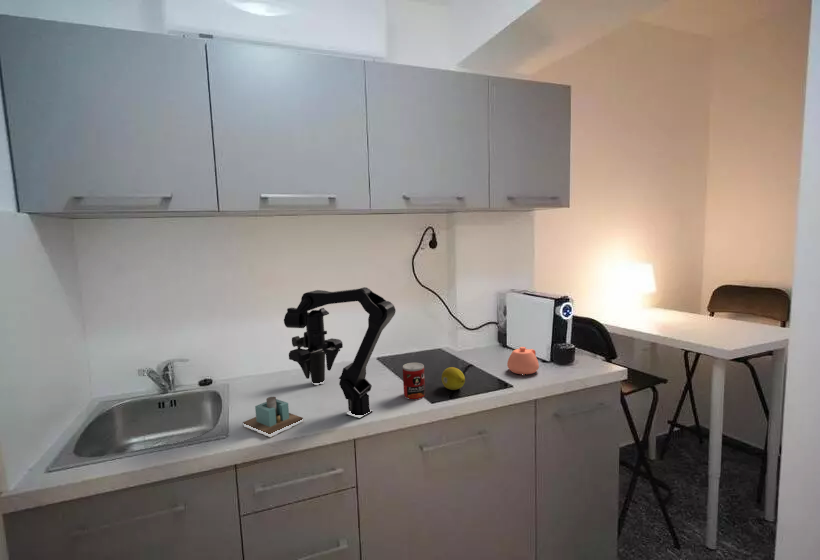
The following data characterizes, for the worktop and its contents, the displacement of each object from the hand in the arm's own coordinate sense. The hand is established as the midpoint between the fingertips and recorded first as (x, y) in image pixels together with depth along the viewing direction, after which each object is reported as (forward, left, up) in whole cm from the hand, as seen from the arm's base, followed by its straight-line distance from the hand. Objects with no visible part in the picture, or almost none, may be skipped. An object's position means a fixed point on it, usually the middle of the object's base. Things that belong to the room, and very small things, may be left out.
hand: (318, 374), depth 136 cm
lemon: (-30, -37, -12) cm, 49 cm away
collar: (+4, +16, -10) cm, 19 cm away
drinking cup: (+20, -16, -12) cm, 28 cm away
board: (+4, +16, -12) cm, 20 cm away
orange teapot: (-45, -68, -12) cm, 82 cm away
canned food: (-21, -25, -12) cm, 35 cm away
